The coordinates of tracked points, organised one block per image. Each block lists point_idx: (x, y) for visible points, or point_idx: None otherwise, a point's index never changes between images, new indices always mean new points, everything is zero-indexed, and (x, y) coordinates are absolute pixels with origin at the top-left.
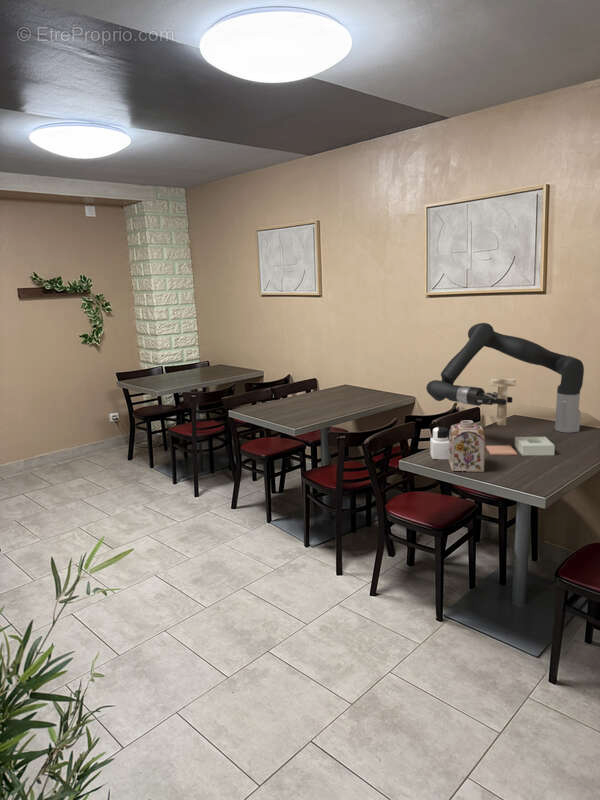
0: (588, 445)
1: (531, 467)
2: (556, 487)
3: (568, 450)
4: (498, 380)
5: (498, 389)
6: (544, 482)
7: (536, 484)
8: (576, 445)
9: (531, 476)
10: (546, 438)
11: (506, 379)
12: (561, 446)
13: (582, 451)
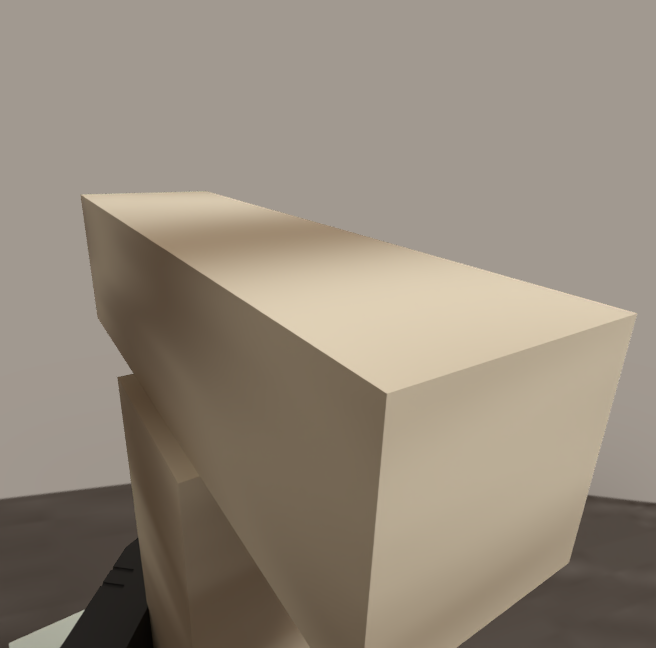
0: (3, 512)
1: (484, 635)
2: (601, 503)
3: (107, 560)
4: (418, 258)
5: (244, 567)
6: (601, 541)
7: (652, 557)
8: (4, 549)
9: (596, 598)
10: (61, 623)
11: (205, 215)
12: (29, 603)
13: (113, 514)
